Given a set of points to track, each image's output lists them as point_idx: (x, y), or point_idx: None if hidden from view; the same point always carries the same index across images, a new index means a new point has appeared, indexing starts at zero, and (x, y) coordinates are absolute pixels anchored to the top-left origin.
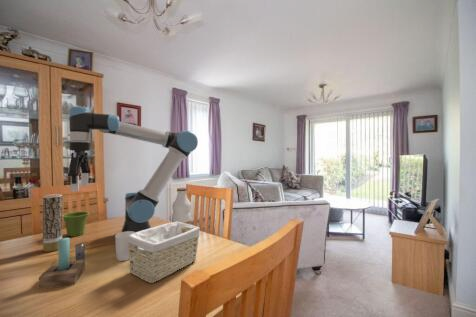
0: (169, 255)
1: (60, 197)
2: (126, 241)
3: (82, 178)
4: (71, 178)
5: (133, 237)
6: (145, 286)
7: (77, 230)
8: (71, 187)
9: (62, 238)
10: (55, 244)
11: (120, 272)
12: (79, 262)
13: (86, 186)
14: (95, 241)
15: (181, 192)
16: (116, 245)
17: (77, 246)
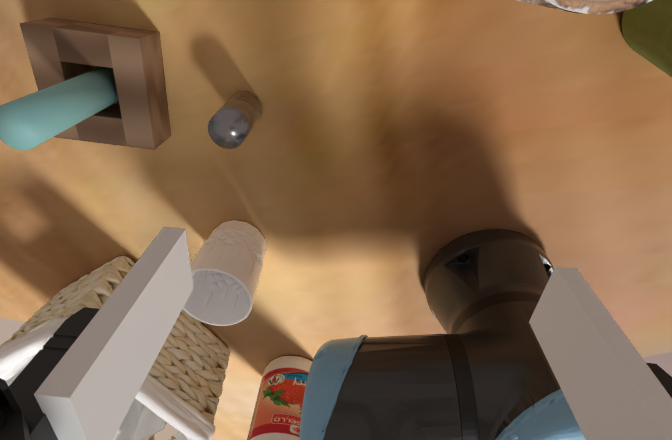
0: None
1: (542, 2)
2: None
3: (607, 374)
4: (70, 362)
5: (25, 347)
6: (55, 278)
7: (635, 33)
8: (142, 262)
9: (26, 118)
10: None
11: (134, 231)
12: (129, 136)
13: (535, 313)
14: (463, 133)
15: None
16: (203, 250)
17: (209, 122)
